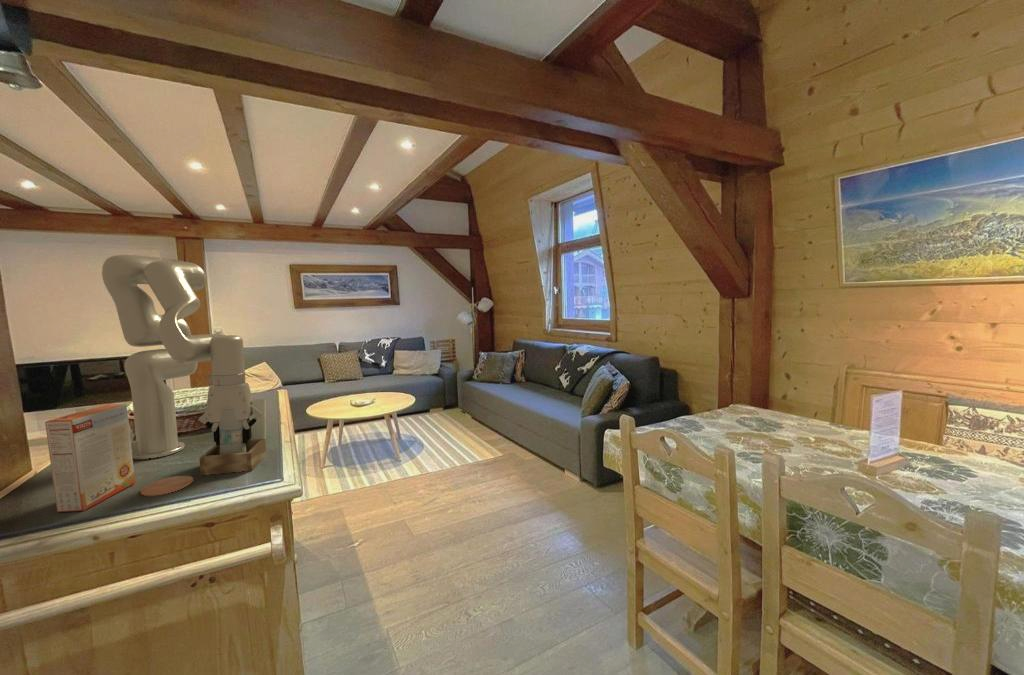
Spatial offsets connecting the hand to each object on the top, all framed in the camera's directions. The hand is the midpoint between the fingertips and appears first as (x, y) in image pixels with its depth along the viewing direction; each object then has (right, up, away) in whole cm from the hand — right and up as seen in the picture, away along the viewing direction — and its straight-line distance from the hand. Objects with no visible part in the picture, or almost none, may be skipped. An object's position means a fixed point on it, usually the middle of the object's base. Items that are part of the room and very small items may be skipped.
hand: (233, 442), depth 114 cm
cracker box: (-20, -9, -18) cm, 28 cm away
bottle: (0, -7, 0) cm, 7 cm away
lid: (-2, -6, +8) cm, 10 cm away
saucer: (-8, -8, -13) cm, 17 cm away
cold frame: (0, -6, +1) cm, 7 cm away
